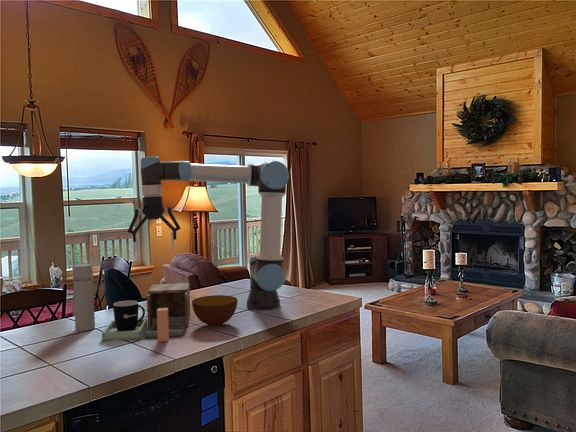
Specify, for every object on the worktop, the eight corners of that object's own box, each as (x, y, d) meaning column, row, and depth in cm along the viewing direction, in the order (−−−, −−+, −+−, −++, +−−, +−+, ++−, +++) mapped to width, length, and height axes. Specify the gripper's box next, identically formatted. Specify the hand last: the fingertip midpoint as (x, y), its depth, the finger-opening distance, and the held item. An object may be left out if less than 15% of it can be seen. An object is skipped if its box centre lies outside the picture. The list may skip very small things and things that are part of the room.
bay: (190, 315, 205) (189, 283, 204) (187, 327, 188) (186, 291, 187) (153, 317, 203) (152, 284, 202) (147, 329, 186) (146, 293, 185)
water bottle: (100, 327, 190) (97, 264, 188) (85, 333, 182) (82, 267, 181) (81, 325, 193) (78, 263, 191) (66, 331, 185) (63, 266, 184)
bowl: (220, 316, 203) (219, 293, 202) (247, 325, 190) (246, 299, 189) (183, 325, 190) (183, 300, 190) (210, 335, 178) (209, 308, 177)
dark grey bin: (185, 323, 192) (184, 296, 192) (181, 340, 171) (180, 309, 171) (152, 325, 190) (151, 297, 190) (144, 342, 169) (143, 311, 169)
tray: (147, 326, 190) (146, 318, 190) (140, 339, 174) (140, 331, 174) (112, 328, 188) (111, 320, 188) (102, 341, 172) (101, 333, 172)
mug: (120, 334, 177) (119, 307, 176) (110, 329, 183) (109, 303, 183) (150, 327, 185) (149, 301, 185) (139, 323, 192) (138, 298, 191)
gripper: (184, 194, 198) (187, 245, 200) (121, 197, 194) (124, 249, 195) (184, 194, 191) (187, 248, 192) (117, 197, 187) (121, 252, 188)
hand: (155, 249), depth 194 cm, fingers open, 13 cm apart
